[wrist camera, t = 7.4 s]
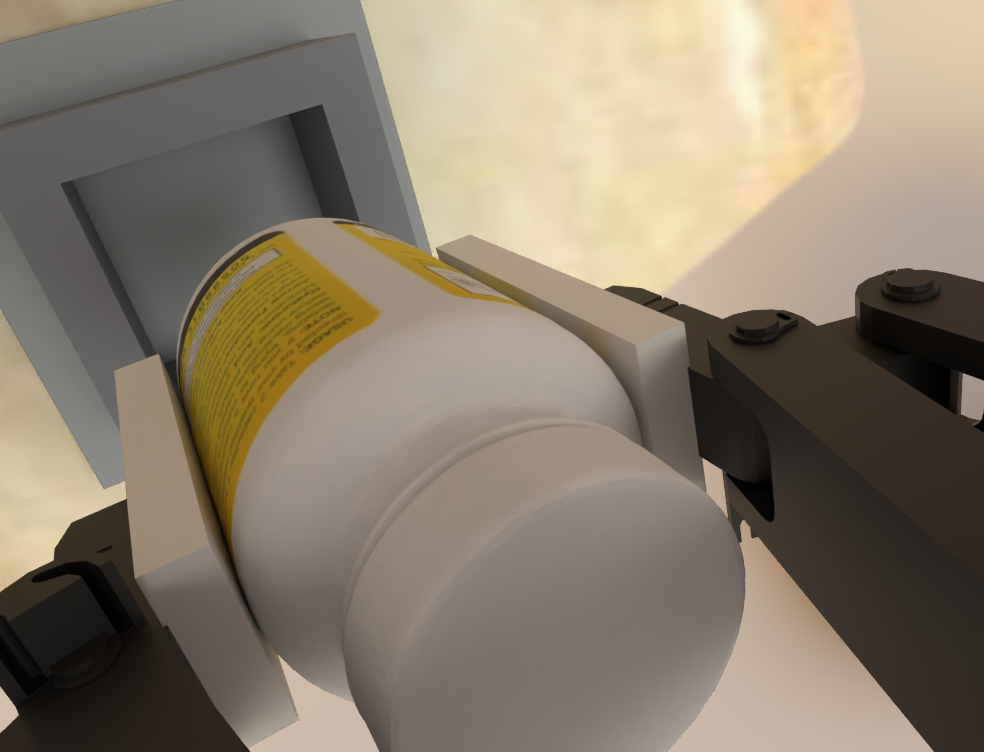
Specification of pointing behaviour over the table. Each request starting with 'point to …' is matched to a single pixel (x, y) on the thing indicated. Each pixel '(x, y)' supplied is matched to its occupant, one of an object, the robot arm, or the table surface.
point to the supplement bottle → (449, 503)
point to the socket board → (175, 175)
